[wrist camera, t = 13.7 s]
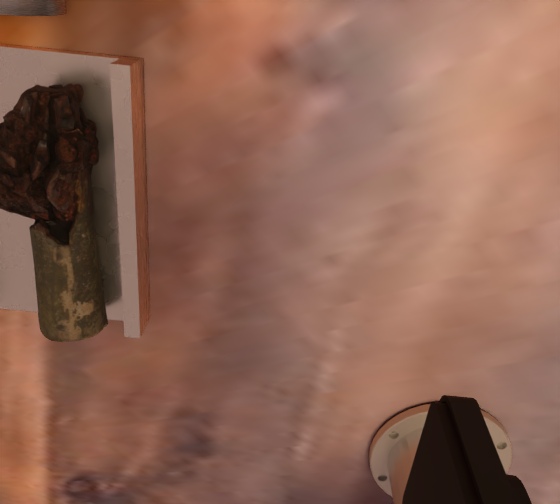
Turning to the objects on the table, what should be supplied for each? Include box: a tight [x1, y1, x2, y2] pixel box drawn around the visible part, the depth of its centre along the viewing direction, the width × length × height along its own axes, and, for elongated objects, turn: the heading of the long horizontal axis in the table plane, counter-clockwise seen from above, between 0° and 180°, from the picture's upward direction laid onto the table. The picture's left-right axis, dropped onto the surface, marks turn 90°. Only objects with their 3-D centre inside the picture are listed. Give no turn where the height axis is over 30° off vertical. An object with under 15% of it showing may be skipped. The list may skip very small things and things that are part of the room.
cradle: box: [0, 44, 150, 338], centre depth 38 cm, size 20×13×3 cm
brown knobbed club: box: [0, 84, 108, 342], centre depth 36 cm, size 18×7×6 cm, turn 174°
